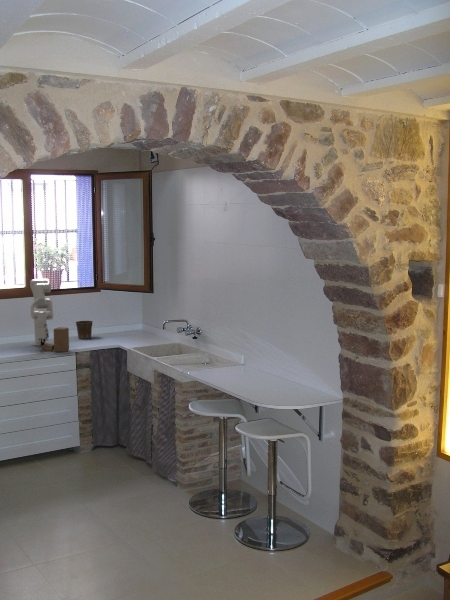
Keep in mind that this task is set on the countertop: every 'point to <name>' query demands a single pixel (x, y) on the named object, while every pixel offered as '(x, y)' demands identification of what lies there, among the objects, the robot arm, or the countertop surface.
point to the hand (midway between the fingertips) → (42, 346)
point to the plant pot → (84, 329)
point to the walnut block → (47, 347)
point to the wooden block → (61, 339)
